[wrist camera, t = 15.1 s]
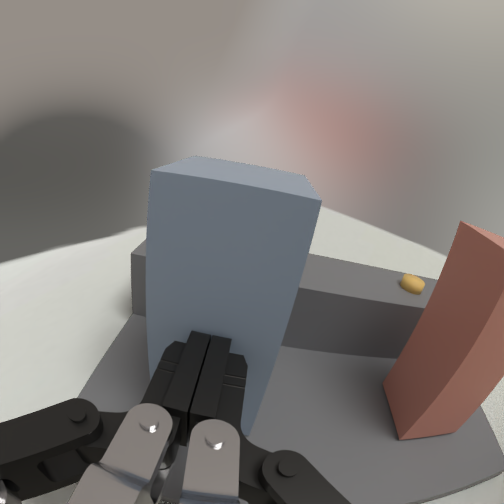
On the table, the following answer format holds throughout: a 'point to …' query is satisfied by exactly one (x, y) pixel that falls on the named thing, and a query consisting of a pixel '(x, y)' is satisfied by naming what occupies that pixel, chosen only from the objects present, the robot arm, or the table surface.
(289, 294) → the blue key
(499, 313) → the red key
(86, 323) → the table surface
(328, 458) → the console
